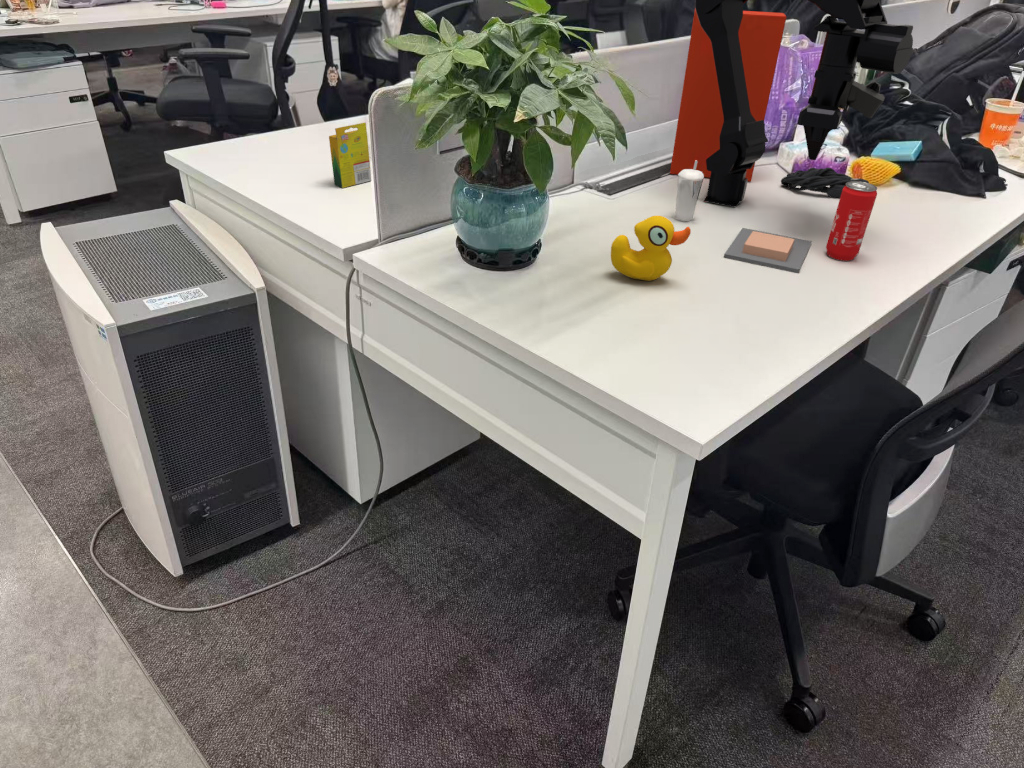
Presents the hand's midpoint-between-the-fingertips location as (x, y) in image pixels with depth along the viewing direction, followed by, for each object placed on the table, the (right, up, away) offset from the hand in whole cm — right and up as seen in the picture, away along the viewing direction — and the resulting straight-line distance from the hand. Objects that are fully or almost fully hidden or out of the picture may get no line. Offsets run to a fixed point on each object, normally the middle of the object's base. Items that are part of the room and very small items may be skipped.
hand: (812, 159), depth 127 cm
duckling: (-33, -24, -16) cm, 43 cm away
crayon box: (-86, +1, +19) cm, 88 cm away
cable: (+12, +2, +26) cm, 29 cm away
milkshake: (-21, -9, +8) cm, 24 cm away
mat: (-10, -17, -5) cm, 20 cm away
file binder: (-9, +7, +32) cm, 34 cm away
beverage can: (+2, -18, -5) cm, 19 cm away
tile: (-8, -15, -4) cm, 18 cm away
